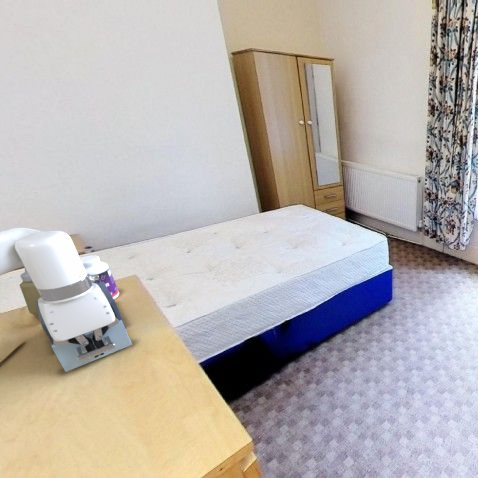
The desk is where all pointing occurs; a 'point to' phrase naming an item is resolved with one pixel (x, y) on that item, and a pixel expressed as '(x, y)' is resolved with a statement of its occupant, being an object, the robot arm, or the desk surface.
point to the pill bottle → (100, 273)
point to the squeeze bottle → (30, 293)
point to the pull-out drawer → (79, 356)
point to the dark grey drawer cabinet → (107, 295)
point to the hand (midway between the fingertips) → (98, 353)
